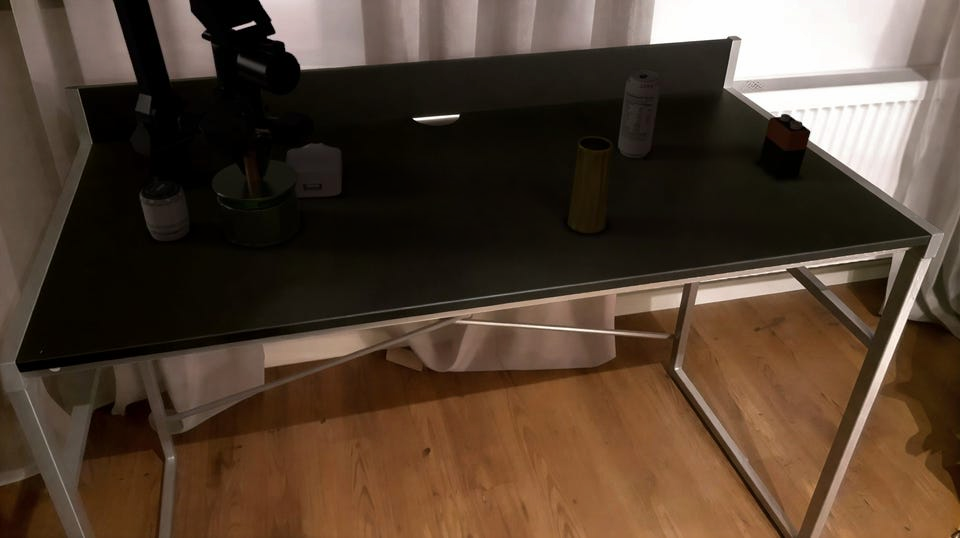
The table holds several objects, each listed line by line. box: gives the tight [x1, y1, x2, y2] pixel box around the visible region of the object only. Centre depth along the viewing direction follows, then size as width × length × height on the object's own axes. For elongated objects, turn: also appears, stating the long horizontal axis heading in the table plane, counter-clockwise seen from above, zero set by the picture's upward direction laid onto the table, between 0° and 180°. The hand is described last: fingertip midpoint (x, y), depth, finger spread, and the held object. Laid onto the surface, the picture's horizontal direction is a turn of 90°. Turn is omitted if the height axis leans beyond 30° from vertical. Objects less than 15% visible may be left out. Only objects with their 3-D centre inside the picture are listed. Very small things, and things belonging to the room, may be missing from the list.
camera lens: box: [139, 181, 191, 242], centre depth 121 cm, size 6×6×8 cm
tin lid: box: [211, 150, 298, 202], centre depth 119 cm, size 13×13×5 cm
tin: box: [216, 185, 301, 249], centre depth 123 cm, size 12×12×6 cm
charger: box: [284, 142, 343, 198], centre depth 138 cm, size 5×9×15 cm
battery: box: [759, 113, 812, 180], centre depth 141 cm, size 4×7×10 cm, turn 14°
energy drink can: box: [617, 69, 661, 159], centre depth 145 cm, size 6×6×15 cm
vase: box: [566, 135, 614, 234], centre depth 123 cm, size 6×6×14 cm
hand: (254, 175), depth 120 cm, fingers closed on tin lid, 2 cm apart
